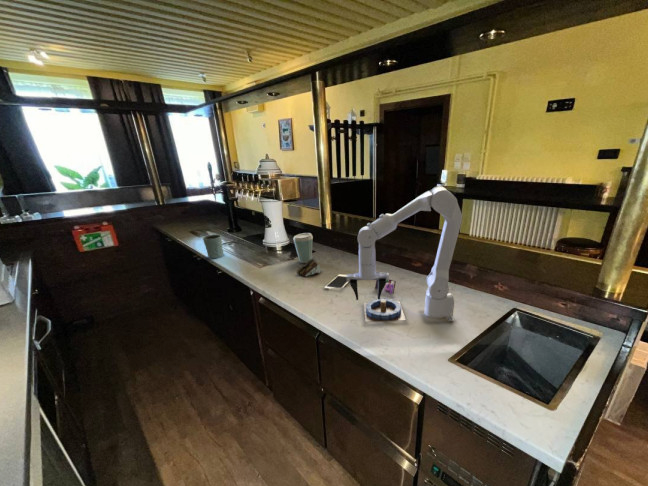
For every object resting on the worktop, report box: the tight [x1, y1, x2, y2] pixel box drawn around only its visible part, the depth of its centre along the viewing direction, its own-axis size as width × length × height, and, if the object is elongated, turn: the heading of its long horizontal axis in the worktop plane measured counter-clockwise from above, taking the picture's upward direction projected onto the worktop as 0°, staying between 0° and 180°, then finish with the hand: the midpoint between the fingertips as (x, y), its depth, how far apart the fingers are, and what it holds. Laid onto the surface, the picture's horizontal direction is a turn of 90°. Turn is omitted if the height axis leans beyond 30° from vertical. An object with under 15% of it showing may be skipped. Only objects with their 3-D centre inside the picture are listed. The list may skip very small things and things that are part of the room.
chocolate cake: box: [295, 256, 322, 278], centre depth 150 cm, size 10×7×12 cm
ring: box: [366, 298, 402, 320], centre depth 110 cm, size 13×13×2 cm
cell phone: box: [324, 273, 349, 290], centre depth 138 cm, size 8×16×1 cm, turn 158°
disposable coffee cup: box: [293, 232, 314, 264], centre depth 164 cm, size 11×11×15 cm
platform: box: [363, 300, 406, 323], centre depth 110 cm, size 14×14×6 cm
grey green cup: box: [202, 234, 224, 259], centre depth 180 cm, size 10×10×12 cm
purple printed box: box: [374, 279, 397, 295], centre depth 126 cm, size 7×5×9 cm
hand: (368, 298), depth 108 cm, fingers open, 7 cm apart
